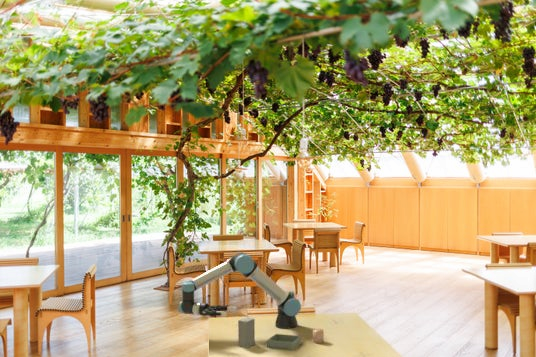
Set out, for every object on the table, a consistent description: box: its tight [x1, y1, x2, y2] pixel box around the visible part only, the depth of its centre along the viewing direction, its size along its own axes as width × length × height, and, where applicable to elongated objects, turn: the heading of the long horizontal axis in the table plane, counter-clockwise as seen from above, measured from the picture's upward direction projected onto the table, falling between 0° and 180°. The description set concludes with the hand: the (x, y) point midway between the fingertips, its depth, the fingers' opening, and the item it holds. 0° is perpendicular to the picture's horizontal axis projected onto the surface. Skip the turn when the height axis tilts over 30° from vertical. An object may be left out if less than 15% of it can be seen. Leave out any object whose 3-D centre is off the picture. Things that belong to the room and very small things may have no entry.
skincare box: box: [237, 316, 256, 349], centre depth 302 cm, size 8×7×16 cm
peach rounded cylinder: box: [312, 328, 325, 344], centre depth 306 cm, size 6×6×7 cm
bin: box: [266, 333, 303, 351], centre depth 301 cm, size 17×15×4 cm
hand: (231, 311), depth 307 cm, fingers open, 13 cm apart
